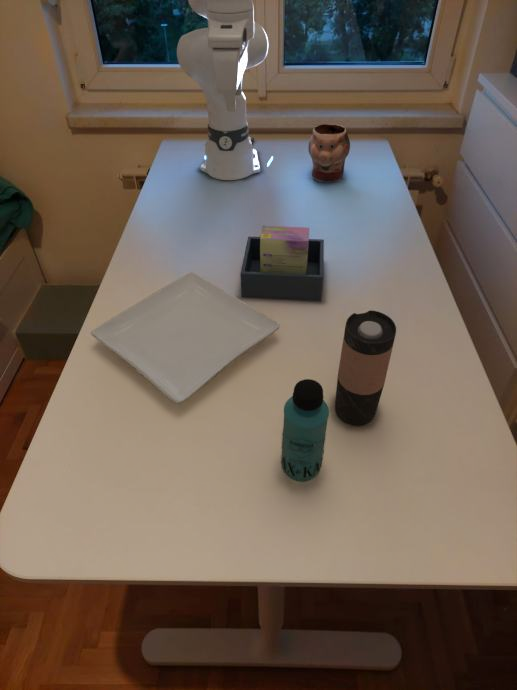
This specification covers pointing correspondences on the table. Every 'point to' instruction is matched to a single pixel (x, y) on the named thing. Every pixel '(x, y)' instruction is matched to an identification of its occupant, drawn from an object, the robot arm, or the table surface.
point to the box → (284, 249)
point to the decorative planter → (328, 151)
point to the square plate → (185, 334)
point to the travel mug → (363, 366)
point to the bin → (282, 276)
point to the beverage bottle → (304, 431)
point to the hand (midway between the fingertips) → (234, 102)
